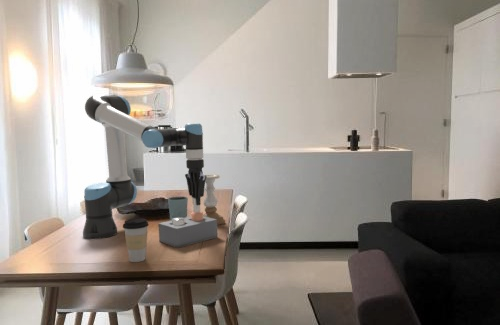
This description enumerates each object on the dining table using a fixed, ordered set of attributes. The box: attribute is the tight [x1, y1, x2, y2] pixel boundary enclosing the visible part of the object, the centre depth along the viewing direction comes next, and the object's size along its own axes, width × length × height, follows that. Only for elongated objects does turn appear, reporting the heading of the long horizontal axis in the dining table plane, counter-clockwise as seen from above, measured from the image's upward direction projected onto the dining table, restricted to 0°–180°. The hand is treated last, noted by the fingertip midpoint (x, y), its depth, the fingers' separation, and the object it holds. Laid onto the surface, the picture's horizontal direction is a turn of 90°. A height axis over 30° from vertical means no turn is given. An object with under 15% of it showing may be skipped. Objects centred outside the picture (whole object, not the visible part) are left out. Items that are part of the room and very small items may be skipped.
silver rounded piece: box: [172, 218, 185, 226], centre depth 182 cm, size 5×5×7 cm
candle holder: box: [202, 174, 226, 226], centre depth 214 cm, size 11×11×24 cm
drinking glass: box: [167, 196, 189, 221], centre depth 221 cm, size 10×10×12 cm
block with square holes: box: [158, 216, 219, 249], centre depth 186 cm, size 21×14×8 cm, turn 133°
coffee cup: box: [122, 217, 149, 263], centre depth 160 cm, size 9×9×15 cm
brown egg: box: [190, 211, 204, 222], centre depth 189 cm, size 5×5×7 cm
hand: (197, 212), depth 189 cm, fingers closed
